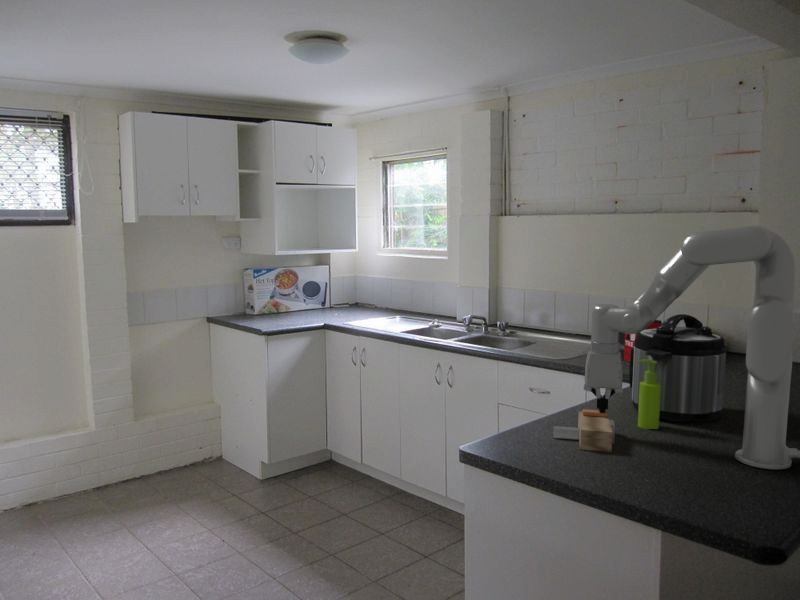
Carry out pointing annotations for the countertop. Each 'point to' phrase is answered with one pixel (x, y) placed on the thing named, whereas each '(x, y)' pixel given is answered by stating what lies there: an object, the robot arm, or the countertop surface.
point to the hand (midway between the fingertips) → (602, 411)
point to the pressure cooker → (682, 368)
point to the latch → (594, 413)
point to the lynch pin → (575, 432)
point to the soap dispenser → (649, 398)
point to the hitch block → (594, 433)
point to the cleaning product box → (632, 341)
